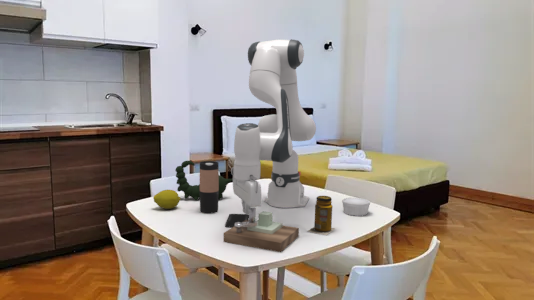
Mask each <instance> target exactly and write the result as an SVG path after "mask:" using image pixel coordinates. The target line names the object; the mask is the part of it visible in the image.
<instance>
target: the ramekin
mask: <svg viewBox="0 0 534 300" xmlns="http://www.w3.org/2000/svg"><path fill="white" fill-rule="evenodd" d="M341 203H342V209H343V212H344V214H346V215H348V214H349V215H348V216H352V215H355V216H354V217H362V216H361V215H364V216H366V215H367V214H368V212H369V209H370V204H371V201H370V200H369V199H366V198H363V197H362V198H361V197H346V198H343V199H342V200H341Z"/></svg>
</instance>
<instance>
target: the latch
mask: <svg viewBox="0 0 534 300" xmlns="http://www.w3.org/2000/svg"><path fill="white" fill-rule="evenodd" d="M256 208H257V207H251V208H249V214H248V215H249V219H248V220H249V222H236V223H235V228H243V227H252V226H257V222H256V221H257V220H256V217H257V216H256V215H257V211H256V210H257V209H256Z"/></svg>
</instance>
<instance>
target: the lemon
mask: <svg viewBox="0 0 534 300" xmlns="http://www.w3.org/2000/svg"><path fill="white" fill-rule="evenodd" d="M181 200H182V199H181V196H180V195H179V194H178V191H175V190H173V189H164V190H161V191H159V192H157V193H156V194H154V196H153V202H154V203H156V205H157V206H158V207H159V208H161V209H164V210H165V209H166V210H171V209H174V208H176V207H177V206H178V205H179V203H180V201H181Z"/></svg>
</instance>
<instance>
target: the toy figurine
mask: <svg viewBox="0 0 534 300" xmlns="http://www.w3.org/2000/svg"><path fill="white" fill-rule="evenodd" d="M190 165H191V166H193V167H194V166H195V163H194V162H193V161H191V160H185V161H183V162H182V163H181V165H179V166H177V167H176V168H175V169H174V170H175V172H176V173H175V177H176V178H177V180H176V184H177V185H178V187H177V188H176V189H177V192H183V194H184V195H183V196H184V199H185V200H186V199H189V197H190V198H192V199H193V200H194V201H198V200H199V199H200V183H198V184H194V185H191V184H190V183H189V182H188V179H187V177H186V172H185V171H184V169H185V168H186V167H188V166H190ZM231 182H233V178H224V177H223V176H222V175H220V174H219V195H218V200H221V199H222V198H223V196H224V195H223V193H224V192H225V191H226V190H227V186H228V184H229V183H231Z"/></svg>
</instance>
